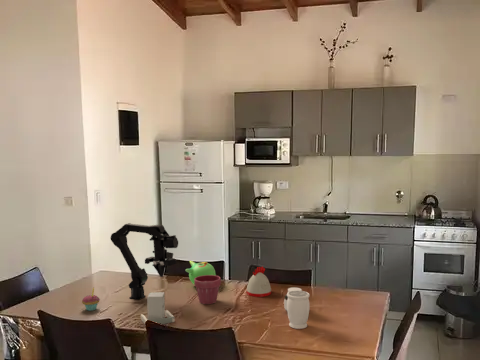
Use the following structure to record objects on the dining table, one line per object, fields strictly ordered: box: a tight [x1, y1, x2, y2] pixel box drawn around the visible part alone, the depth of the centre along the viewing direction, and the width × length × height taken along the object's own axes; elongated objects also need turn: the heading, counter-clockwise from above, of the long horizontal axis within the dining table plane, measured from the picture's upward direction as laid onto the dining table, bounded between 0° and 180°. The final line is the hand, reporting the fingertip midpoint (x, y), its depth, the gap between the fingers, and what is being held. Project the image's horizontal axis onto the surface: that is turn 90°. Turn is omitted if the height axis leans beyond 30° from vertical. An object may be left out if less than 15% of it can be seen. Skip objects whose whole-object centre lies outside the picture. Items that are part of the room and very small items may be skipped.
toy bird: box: [185, 260, 217, 285], centre depth 278 cm, size 18×17×15 cm
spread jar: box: [283, 287, 303, 312], centre depth 233 cm, size 12×11×12 cm
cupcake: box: [81, 286, 101, 312], centre depth 238 cm, size 9×8×12 cm
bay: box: [140, 309, 176, 325], centre depth 222 cm, size 11×13×2 cm
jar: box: [286, 290, 311, 330], centre depth 213 cm, size 11×10×15 cm
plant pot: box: [193, 274, 222, 305], centre depth 249 cm, size 14×14×13 cm
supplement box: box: [146, 291, 166, 320], centre depth 222 cm, size 7×7×13 cm
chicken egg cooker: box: [246, 266, 272, 298], centre depth 263 cm, size 14×14×15 cm
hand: (161, 276), depth 251 cm, fingers closed
